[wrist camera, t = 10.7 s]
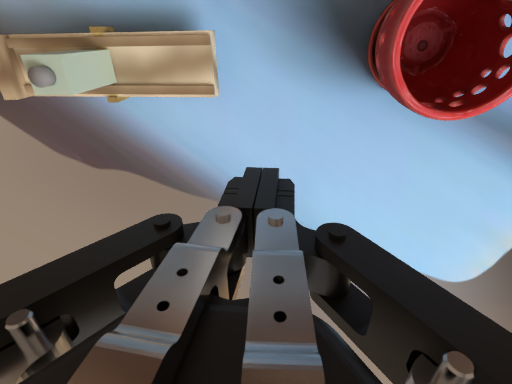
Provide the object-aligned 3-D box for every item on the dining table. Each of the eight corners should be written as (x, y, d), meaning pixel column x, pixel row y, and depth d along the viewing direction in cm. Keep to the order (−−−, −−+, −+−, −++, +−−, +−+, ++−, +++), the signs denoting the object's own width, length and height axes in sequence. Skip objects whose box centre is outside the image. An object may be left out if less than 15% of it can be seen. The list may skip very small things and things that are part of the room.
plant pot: (429, 113, 38) (479, 144, 28) (341, 71, 37) (359, 87, 27) (508, 4, 32) (612, -8, 21) (405, -50, 30) (462, -91, 20)
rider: (76, 49, 33) (8, 55, 25) (108, 49, 33) (49, 55, 25) (86, 82, 35) (25, 97, 27) (116, 82, 35) (63, 97, 27)
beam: (33, 29, 39) (-27, 28, 32) (221, 25, 36) (202, 23, 29) (55, 92, 43) (6, 104, 36) (226, 92, 40) (210, 106, 33)
